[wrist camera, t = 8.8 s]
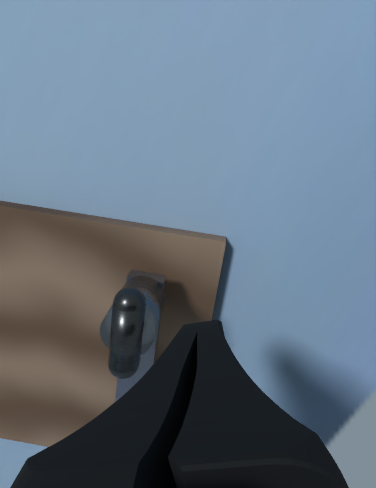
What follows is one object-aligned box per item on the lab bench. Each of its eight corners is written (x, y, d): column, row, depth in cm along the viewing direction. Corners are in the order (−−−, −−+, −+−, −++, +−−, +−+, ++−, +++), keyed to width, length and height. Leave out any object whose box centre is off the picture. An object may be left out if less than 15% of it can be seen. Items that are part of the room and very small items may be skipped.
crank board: (184, 459, 26) (183, 472, 25) (-19, 422, 27) (-28, 434, 26) (225, 236, 21) (226, 242, 20) (-34, 195, 21) (-46, 198, 20)
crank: (157, 459, 25) (137, 566, 19) (103, 449, 25) (66, 552, 19) (189, 250, 20) (176, 305, 14) (120, 239, 20) (77, 288, 14)
